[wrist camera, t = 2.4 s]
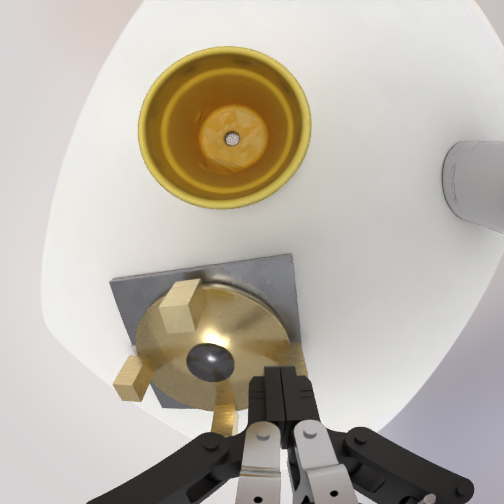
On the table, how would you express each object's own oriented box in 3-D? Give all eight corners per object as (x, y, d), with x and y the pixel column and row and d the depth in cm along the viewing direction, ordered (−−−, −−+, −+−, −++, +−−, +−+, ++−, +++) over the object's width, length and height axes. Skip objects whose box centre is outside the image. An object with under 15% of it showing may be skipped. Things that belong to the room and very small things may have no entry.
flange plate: (290, 253, 27) (292, 257, 25) (304, 394, 32) (305, 401, 31) (113, 278, 28) (108, 283, 27) (164, 403, 33) (162, 409, 32)
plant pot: (221, 217, 26) (201, 245, 16) (158, 131, 23) (108, 116, 14) (313, 153, 24) (346, 145, 15) (247, 67, 22) (242, 17, 12)
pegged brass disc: (290, 259, 26) (301, 289, 19) (303, 400, 31) (310, 439, 25) (110, 284, 27) (78, 313, 20) (162, 408, 32) (150, 444, 26)
